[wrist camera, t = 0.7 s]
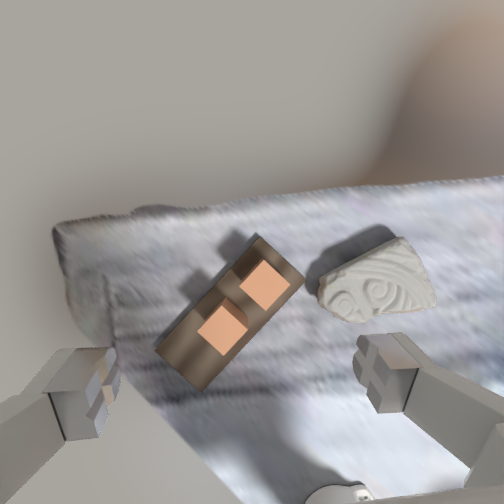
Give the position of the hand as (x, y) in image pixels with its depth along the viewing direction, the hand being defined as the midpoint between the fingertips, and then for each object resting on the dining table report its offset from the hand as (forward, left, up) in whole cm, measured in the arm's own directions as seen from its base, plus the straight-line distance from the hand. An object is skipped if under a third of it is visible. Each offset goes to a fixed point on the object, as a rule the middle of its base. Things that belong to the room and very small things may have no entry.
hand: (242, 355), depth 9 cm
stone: (-20, -14, -45) cm, 51 cm away
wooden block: (-4, +12, -43) cm, 45 cm away
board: (-4, +11, -44) cm, 46 cm away
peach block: (-4, +1, -43) cm, 43 cm away
